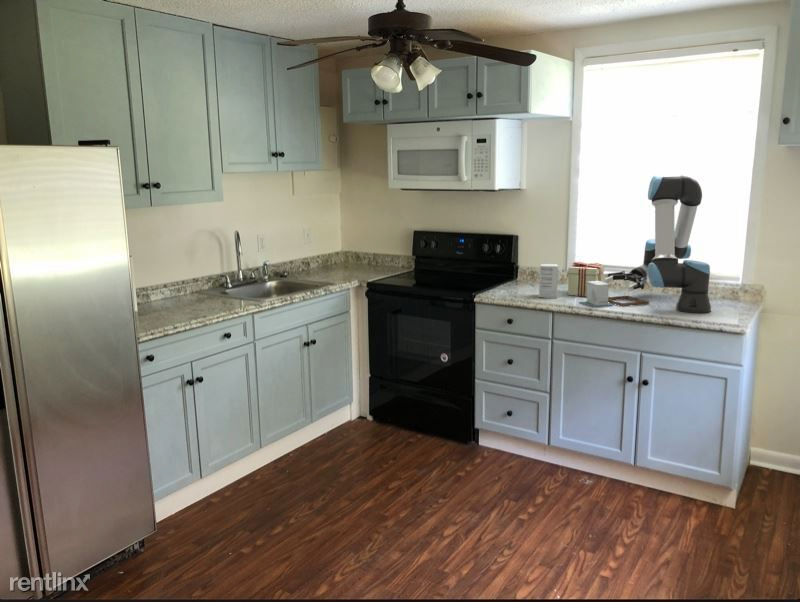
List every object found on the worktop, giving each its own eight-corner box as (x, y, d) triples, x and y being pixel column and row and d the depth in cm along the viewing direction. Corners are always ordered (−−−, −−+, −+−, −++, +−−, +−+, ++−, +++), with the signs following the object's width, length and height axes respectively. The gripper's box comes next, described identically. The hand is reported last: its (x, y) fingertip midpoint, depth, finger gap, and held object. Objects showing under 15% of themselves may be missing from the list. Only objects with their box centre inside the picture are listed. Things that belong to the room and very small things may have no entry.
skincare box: (585, 301, 336) (586, 281, 334) (597, 300, 338) (598, 280, 336) (596, 305, 326) (597, 284, 324) (608, 305, 328) (609, 283, 326)
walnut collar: (648, 304, 332) (648, 301, 331) (621, 306, 326) (621, 303, 326) (627, 298, 346) (627, 295, 346) (601, 300, 341) (601, 297, 341)
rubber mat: (614, 305, 329) (614, 304, 328) (593, 307, 325) (593, 306, 325) (599, 301, 340) (599, 300, 340) (579, 303, 336) (579, 301, 336)
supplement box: (557, 298, 348) (558, 266, 345) (538, 298, 350) (540, 266, 347) (556, 295, 357) (557, 263, 354) (538, 294, 359) (539, 263, 356)
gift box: (604, 292, 364) (605, 260, 361) (597, 298, 348) (598, 265, 345) (572, 290, 372) (574, 259, 368) (564, 295, 356) (565, 263, 352)
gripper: (661, 287, 339) (638, 299, 326) (618, 274, 356) (594, 285, 344) (663, 273, 336) (640, 285, 323) (619, 261, 353) (595, 271, 341)
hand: (616, 285), depth 333 cm, fingers open, 13 cm apart
